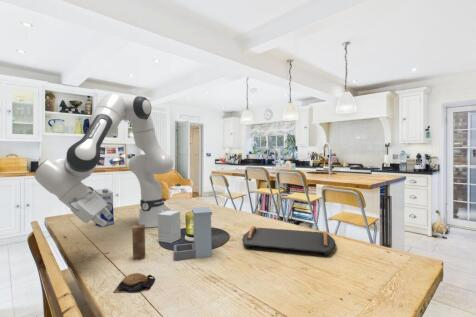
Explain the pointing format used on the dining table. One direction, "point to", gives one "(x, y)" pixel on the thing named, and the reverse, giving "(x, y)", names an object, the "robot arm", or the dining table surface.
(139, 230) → the walnut block
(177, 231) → the supplement box
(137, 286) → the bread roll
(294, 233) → the serving board
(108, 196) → the milk carton
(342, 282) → the dining table surface
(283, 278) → the dining table surface
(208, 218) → the pale blue tower
